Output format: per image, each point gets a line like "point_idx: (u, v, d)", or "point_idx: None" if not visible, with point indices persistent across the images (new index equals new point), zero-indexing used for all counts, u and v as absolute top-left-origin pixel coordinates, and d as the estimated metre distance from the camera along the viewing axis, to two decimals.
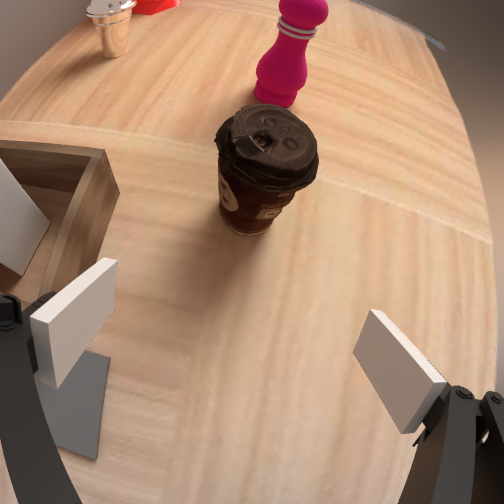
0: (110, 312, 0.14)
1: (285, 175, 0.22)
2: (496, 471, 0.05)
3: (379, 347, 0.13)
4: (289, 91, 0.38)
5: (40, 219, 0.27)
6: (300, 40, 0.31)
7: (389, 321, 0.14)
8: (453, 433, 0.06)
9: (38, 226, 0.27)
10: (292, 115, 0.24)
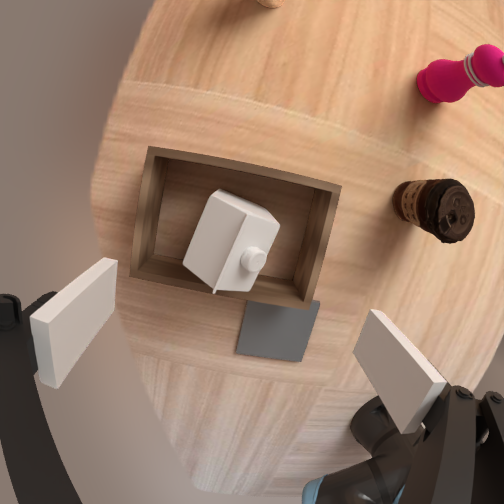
0: (110, 312, 0.14)
1: None
2: (496, 471, 0.05)
3: (378, 347, 0.13)
4: (449, 102, 0.36)
5: None
6: None
7: (389, 321, 0.14)
8: (453, 433, 0.06)
9: None
10: (468, 195, 0.31)
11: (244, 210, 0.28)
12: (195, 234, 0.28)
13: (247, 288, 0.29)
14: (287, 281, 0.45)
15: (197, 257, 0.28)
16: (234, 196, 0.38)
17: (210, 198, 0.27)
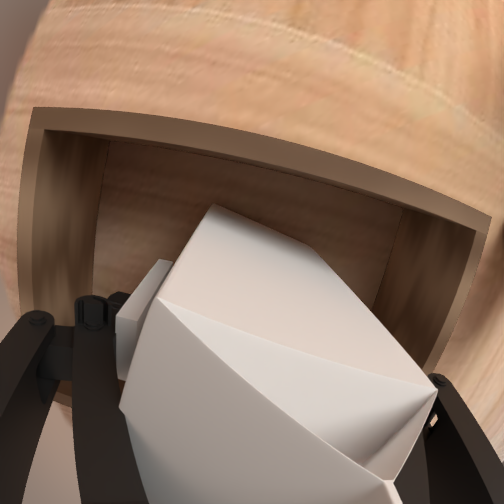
0: None
1: None
2: (454, 461, 0.06)
3: None
4: None
5: None
6: None
7: None
8: None
9: None
10: None
11: (325, 364, 0.06)
12: None
13: None
14: None
15: None
16: (248, 229, 0.16)
17: (154, 316, 0.05)
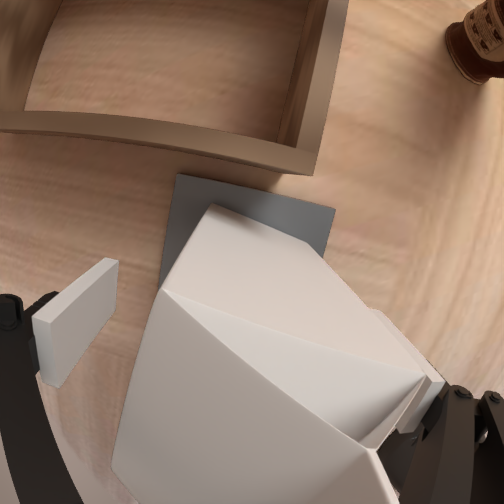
0: (111, 312, 0.14)
1: None
2: (495, 471, 0.05)
3: None
4: None
5: None
6: None
7: (388, 320, 0.14)
8: (452, 433, 0.06)
9: None
10: None
11: (315, 348, 0.06)
12: (125, 420, 0.06)
13: None
14: None
15: (145, 485, 0.06)
16: (246, 227, 0.16)
17: (159, 305, 0.06)
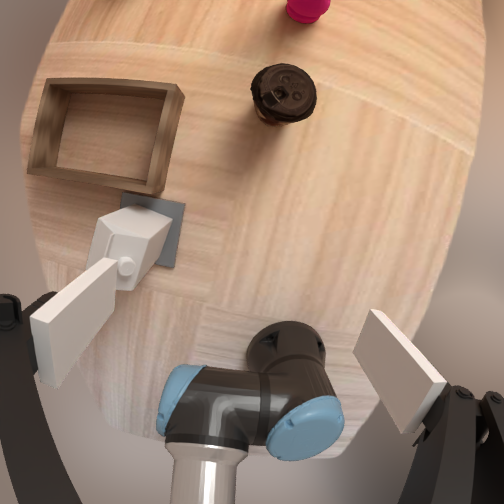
0: (110, 312, 0.14)
1: (291, 116, 0.35)
2: (496, 471, 0.05)
3: (379, 347, 0.13)
4: (313, 16, 0.38)
5: (169, 225, 0.47)
6: None
7: (389, 321, 0.14)
8: (453, 433, 0.06)
9: (167, 229, 0.47)
10: (301, 73, 0.33)
11: (121, 228, 0.34)
12: (91, 247, 0.34)
13: (129, 288, 0.36)
14: None
15: (91, 264, 0.34)
16: (139, 211, 0.44)
17: (98, 220, 0.33)
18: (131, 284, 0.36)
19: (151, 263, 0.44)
